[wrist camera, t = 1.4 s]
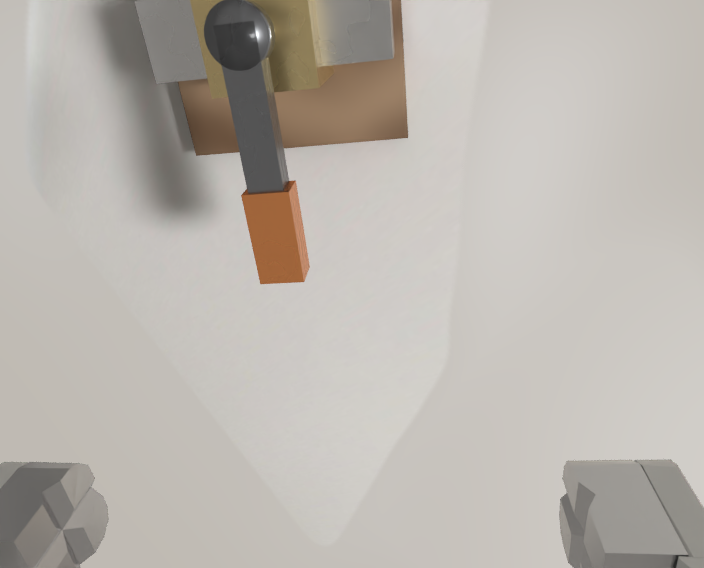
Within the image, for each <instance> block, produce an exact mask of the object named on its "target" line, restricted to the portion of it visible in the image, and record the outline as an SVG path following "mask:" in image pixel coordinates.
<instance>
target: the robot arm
mask: <svg viewBox="0 0 704 568" xmlns="http://www.w3.org/2000/svg"><path fill="white" fill-rule="evenodd" d="M94 479H95V477H94V476H93V474H92V472H91V470H90V468H89V466H88V465H86V464H80V463H49V462H48V463H47V462H29V463H28V462H4V463H1V464H0V568H80V564H81V563H82V562H83V561H85V560H86V559H87V558H89V557H90V556H91V555H93V554H94V553H95V552H96V550H97V549H98V547H99V545H100V543H101V541H102V540H103V538H104V535H105V531H106V527H107V523H108V509H107V504H106V502H105V500H104V497H103V496H102V495H101V494H99V493H98V492H96V491H95V490H94V489H93V488H92V487H91V486H92V484H93V482H94ZM563 481H564V484H565V488H566V490H567V493H566V494H565V495H564V496H563V497H562V498H561V499H560V512H559V516H560V529H561V536H562V540H563V545H564V549H565V553H566V556H567V560H568V563H569V564H570V565H572V566H573V567H574V568H704V507H703V505H702V504H701V502H700V501H699V499H698V498H697V496H696V494H695V493H694V491H693V489H692V488H691V486H690V484H689V483H688V481H687V480H686V478H685V476H684V475H683V473H682V472H681V470H680V469H679V467H678V465H677V464H675V463H674V462H673V461H672V460H635V461H632V460H602V461H601V460H600V461H599V460H597V461H567V462H566V464H565V466H564V471H563Z"/></svg>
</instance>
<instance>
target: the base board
mask: <svg viewBox="0 0 704 568" xmlns="http://www.w3.org/2000/svg"><path fill="white" fill-rule="evenodd" d="M392 16H393V32H394V49H395V53H394V57H393V59H387V60H377V61H368V62H359V63H349V64H340V65H333V69H334V74H333V75H332V76H331V77H330V78H329V79H328V80H327V81H326V82H325V83H324V84H323V85H322V86H321V87H320V88H314V89H304V90H294V91H284V92H274V94H275V100H276V106H277V112H278V118H279V124H280V130H281V136H282V142H283V148H293V147H304V146H316V145H328V144H340V143H352V142H363V141H375V140H387V139H399V138H408V127H407V108H406V89H405V70H404V51H403V32H402V13H401V0H392ZM178 84H179V88H180V92H181V96H182V100H183V104H184V108H185V112H186V116H187V120H188V124H189V128H190V132H191V136H192V140H193V144H194V148H195V152H196V156H198V155H210V154H222V153H234V152H239V147H238V142H237V137H236V132H235V128H234V123H233V118H232V113H231V109H230V104H229V99H228V97H224V98H214V99H212V97H211V92H210V88H209V83H208V79H197V80H188V81H178Z"/></svg>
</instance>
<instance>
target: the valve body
mask: <svg viewBox="0 0 704 568" xmlns="http://www.w3.org/2000/svg"><path fill="white" fill-rule="evenodd" d="M220 1H223V0H139V1H134V3H135V6H136V10H137V14H138V17H139V21H140V25H141V29H142V32H143V36H144V40H145V43H146V47H147V51H148V55H149V58H150V62H151V66H152V69H153V73H154V77H155V81H156V84H159V83H169V82H178V81H188V80H197V79H208V83H209V88H210V92H211V97H212V99H214V98H224V97H228V94H227V89H226V85H225V80H224V75H223V70H222V66H221V64H219V63H218V62H217V61H216V60H215V59H214V58H213V56H212V55H211V54H210V52H209V50H208V48H207V45H206V42H205V38H204V24H205V20H206V17H207V15H208V13H209V11H210V10H211V8H212V7H213V6H214V5H216V4H217V3H219V2H220ZM251 1H253V2H255V3H257V4H259V5H260V6H261V7H262V8H263V9H264V10H265V11H266V12H267V13H268V15H269V16H270V18H271V20H272V22H273V25H274V30H275V44H274V48H273V51H272V53H271V54H270V56H269V57H268V59H269V65H270V71H271V77H272V83H273V88H274V92H284V91H294V90H304V89H314V88H320V87H321V86H322V85H323V84H324V83H325V82H326V81H327V80H328V79H329V78H330V77H331V76H332V75H333V74H334V69H333V65H340V64H349V63H359V62H368V61H377V60H387V59H393V57H394V53H395V49H394V32H393V16H392V0H251Z"/></svg>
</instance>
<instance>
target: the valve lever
mask: <svg viewBox="0 0 704 568" xmlns="http://www.w3.org/2000/svg"><path fill="white" fill-rule="evenodd" d="M204 38H205V42H206V45H207V48H208V50H209V52H210V54H211V55H212V56H213V58H214V59H215V60H216V61H217V62H218V63H219V64H221V66H222V70H223V75H224V80H225V85H226V89H227V94H228V99H229V104H230V109H231V113H232V118H233V123H234V128H235V132H236V137H237V142H238V147H239V152H240V156H241V161H242V166H243V171H244V175H245V180H246V185H247V189H246V191H245V192H244V193H243V194H242V195H241V196H242V201H243V205H244V210H245V215H246V219H247V224H248V228H249V233H250V238H251V242H252V247H253V251H254V256H255V261H256V265H257V270H258V275H259V279H260V284H272V283H292V282H304V281H305V278H306V275H307V272H308V270H309V267H310V266H309V260H308V254H307V248H306V241H305V235H304V229H303V223H302V217H301V210H300V204H299V198H298V192H297V186H296V181H289V178H288V172H287V166H286V160H285V154H284V148H283V142H282V136H281V130H280V124H279V118H278V112H277V106H276V100H275V94H274V88H273V83H272V77H271V71H270V65H269V59H268V57H269V56H270V54H271V53H272V51H273V48H274V44H275V30H274V25H273V22H272V20H271V18H270V16H269V15H268V13H267V12H266V11H265V10H264V9H263V8H262V7H261V6H260V5H259V4H257V3H255V2H253V1H251V0H223V1H220V2H219V3H217V4H216V5H214V6H213V7H212V8H211V10H210V11H209V13H208V15H207V17H206V20H205V24H204Z"/></svg>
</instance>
